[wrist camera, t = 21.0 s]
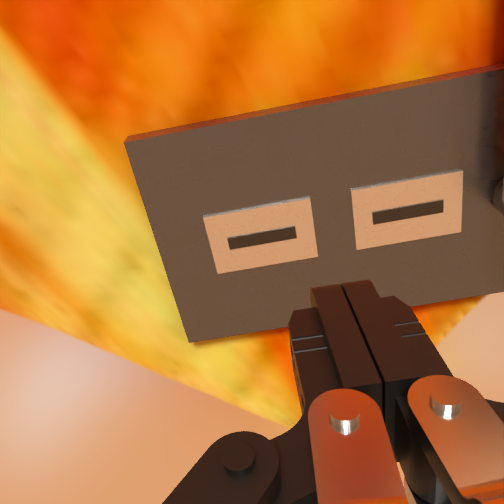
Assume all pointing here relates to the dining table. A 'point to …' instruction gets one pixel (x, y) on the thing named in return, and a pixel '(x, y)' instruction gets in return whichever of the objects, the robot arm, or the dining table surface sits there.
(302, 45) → the dining table surface
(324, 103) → the label panel
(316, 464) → the robot arm
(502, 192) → the swing bar
